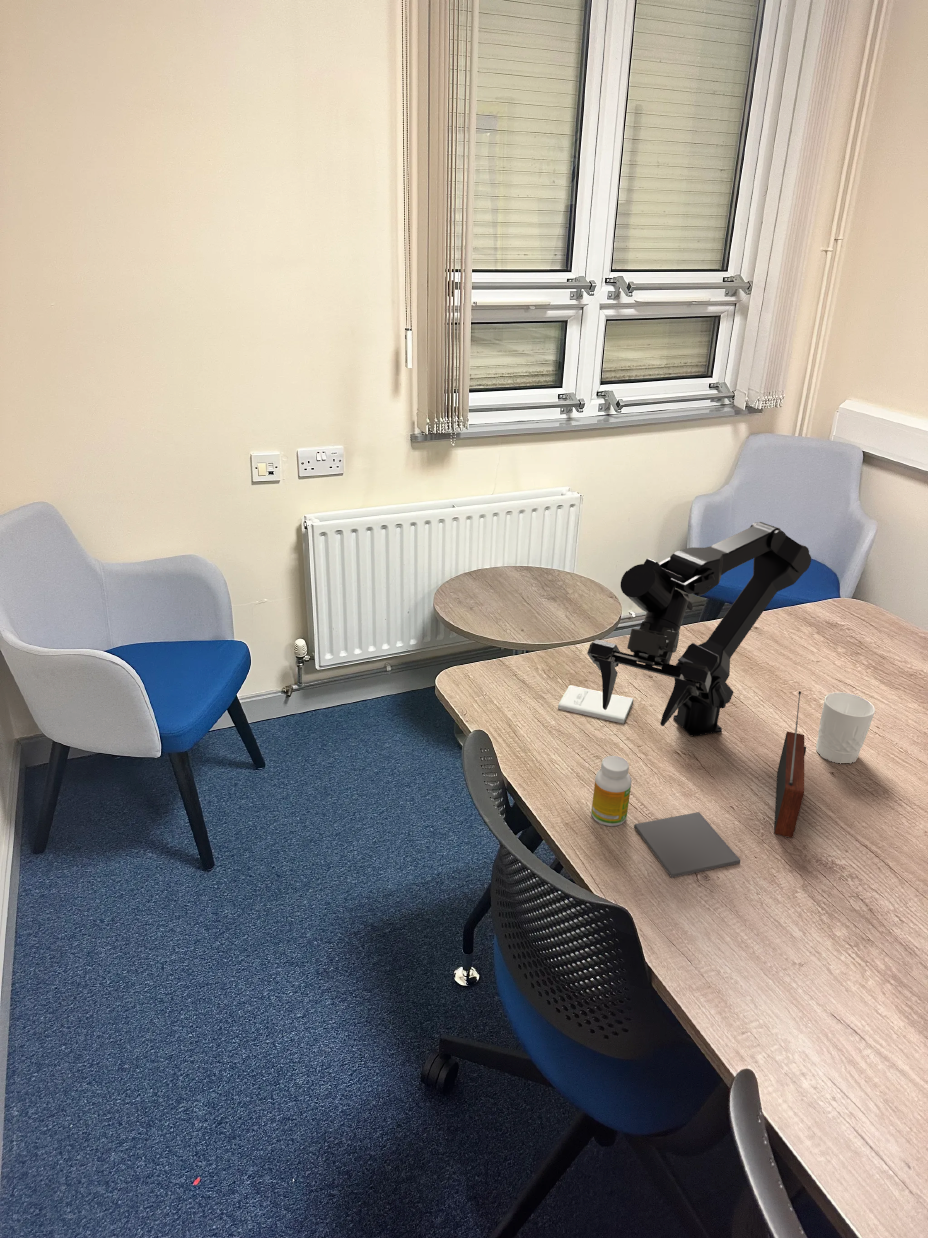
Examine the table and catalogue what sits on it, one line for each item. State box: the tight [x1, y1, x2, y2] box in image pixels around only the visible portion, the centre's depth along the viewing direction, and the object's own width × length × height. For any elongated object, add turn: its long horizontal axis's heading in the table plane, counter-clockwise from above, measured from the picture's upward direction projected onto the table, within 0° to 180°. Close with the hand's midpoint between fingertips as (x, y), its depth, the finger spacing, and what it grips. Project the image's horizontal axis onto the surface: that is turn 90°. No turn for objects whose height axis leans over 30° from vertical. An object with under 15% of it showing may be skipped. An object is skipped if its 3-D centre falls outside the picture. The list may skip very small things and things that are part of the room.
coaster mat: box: [633, 811, 741, 878], centre depth 122 cm, size 11×11×1 cm
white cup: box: [815, 691, 876, 765], centre depth 143 cm, size 8×8×10 cm
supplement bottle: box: [590, 755, 633, 827], centre depth 125 cm, size 5×5×10 cm
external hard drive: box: [557, 684, 634, 725], centre depth 156 cm, size 2×8×12 cm
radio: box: [773, 690, 807, 839], centre depth 129 cm, size 19×3×15 cm, turn 160°
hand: (632, 717), depth 129 cm, fingers open, 9 cm apart
